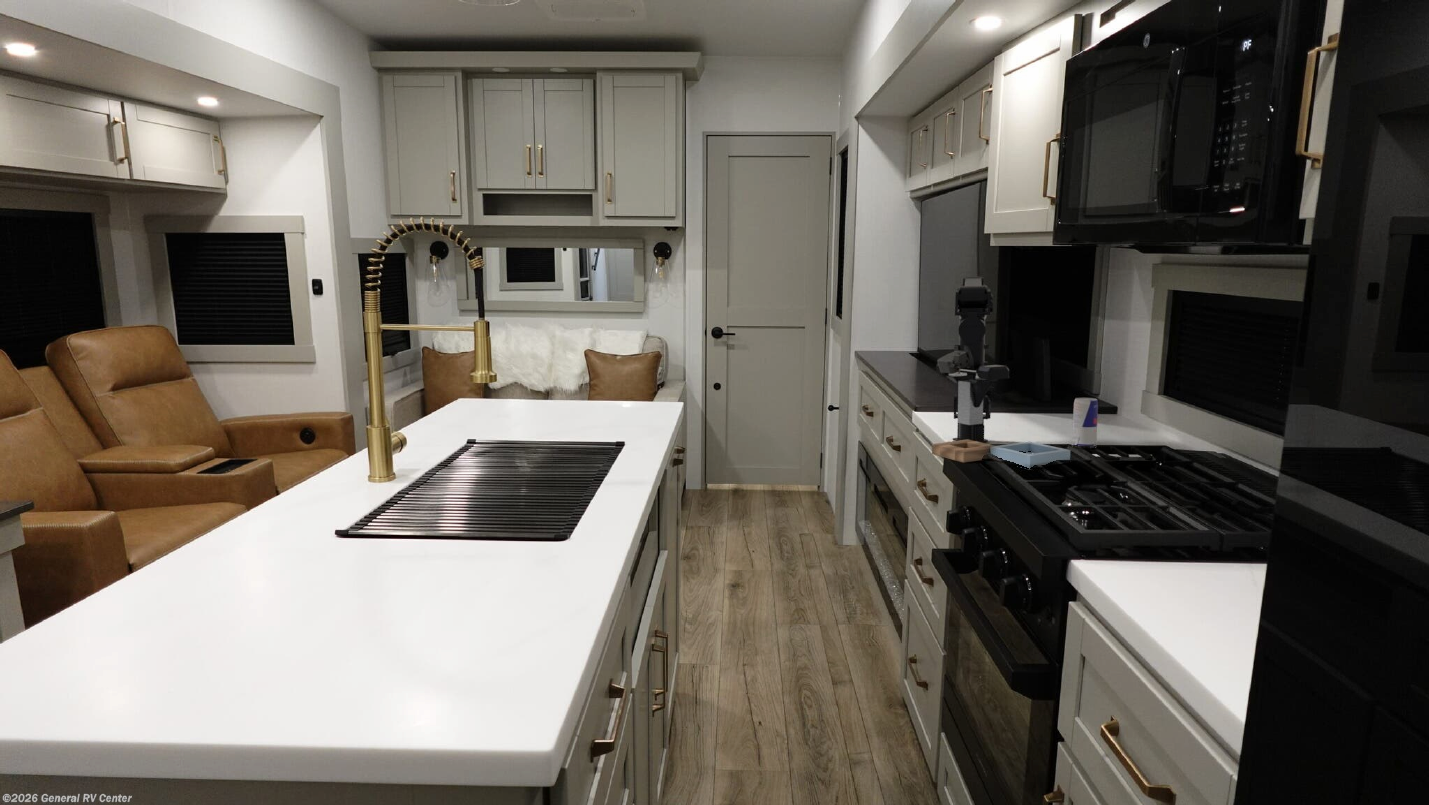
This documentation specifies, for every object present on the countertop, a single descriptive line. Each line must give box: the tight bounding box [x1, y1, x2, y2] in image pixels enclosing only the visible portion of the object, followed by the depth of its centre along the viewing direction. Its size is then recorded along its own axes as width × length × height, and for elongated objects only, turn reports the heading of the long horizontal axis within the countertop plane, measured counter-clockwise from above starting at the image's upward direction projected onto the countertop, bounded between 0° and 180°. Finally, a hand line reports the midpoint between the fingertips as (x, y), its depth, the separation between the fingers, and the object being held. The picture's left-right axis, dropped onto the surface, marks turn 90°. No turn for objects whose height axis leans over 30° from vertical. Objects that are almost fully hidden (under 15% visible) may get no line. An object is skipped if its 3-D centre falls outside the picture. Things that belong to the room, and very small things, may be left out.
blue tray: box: [990, 441, 1071, 470], centre depth 180 cm, size 12×12×3 cm
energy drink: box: [1071, 397, 1099, 447], centre depth 193 cm, size 5×5×12 cm
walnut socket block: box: [931, 439, 995, 463], centre depth 188 cm, size 11×11×2 cm
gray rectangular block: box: [957, 380, 984, 425], centre depth 186 cm, size 4×4×10 cm
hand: (970, 406), depth 186 cm, fingers closed on gray rectangular block, 4 cm apart
